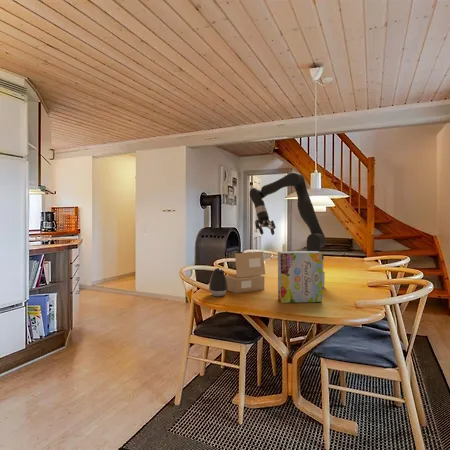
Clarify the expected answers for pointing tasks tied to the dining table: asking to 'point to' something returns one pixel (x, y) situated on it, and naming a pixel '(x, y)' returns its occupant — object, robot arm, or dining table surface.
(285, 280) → the snack box
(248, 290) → the mailer box
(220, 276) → the dark grey egg shape
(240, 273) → the lid
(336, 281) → the dining table surface
